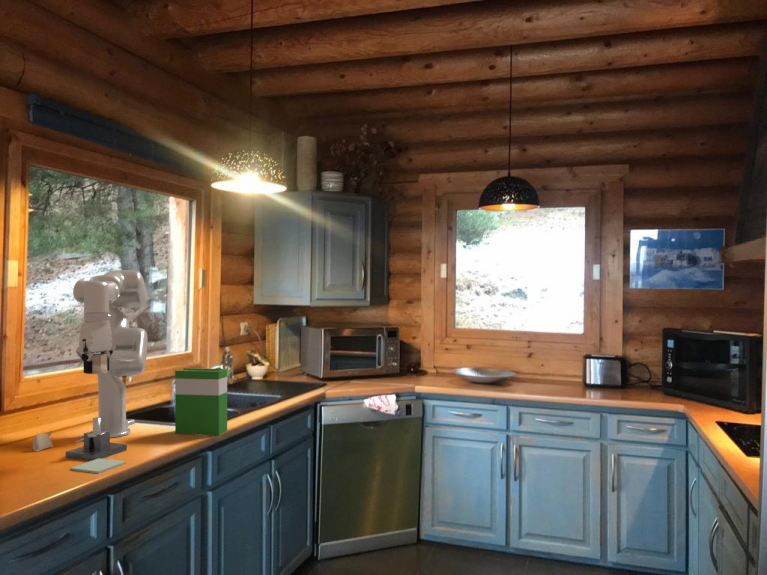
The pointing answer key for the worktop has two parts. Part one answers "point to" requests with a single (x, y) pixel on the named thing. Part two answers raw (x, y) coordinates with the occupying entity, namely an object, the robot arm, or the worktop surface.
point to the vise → (96, 444)
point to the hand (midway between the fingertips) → (96, 371)
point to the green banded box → (201, 401)
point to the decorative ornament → (42, 441)
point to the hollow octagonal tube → (99, 363)
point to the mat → (98, 465)
